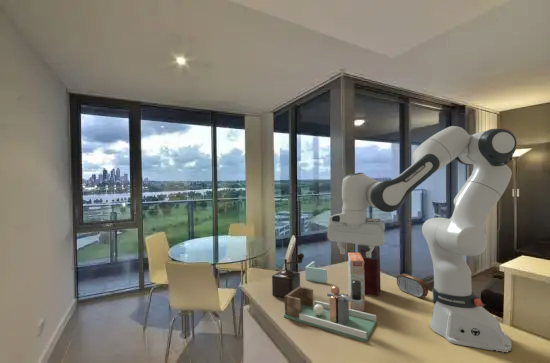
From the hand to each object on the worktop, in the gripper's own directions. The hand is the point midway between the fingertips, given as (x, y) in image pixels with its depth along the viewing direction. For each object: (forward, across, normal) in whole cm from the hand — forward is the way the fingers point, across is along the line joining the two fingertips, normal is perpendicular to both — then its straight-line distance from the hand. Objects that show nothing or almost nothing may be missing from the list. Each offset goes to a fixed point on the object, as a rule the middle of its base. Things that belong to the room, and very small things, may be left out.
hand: (355, 255), depth 98 cm
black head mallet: (+25, +4, 0) cm, 25 cm away
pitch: (+26, +11, 0) cm, 28 cm away
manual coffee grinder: (+27, +38, -16) cm, 49 cm away
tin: (+26, -13, -43) cm, 52 cm away
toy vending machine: (+26, +6, -36) cm, 45 cm away
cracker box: (+26, +6, -19) cm, 33 cm away
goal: (+25, +23, 0) cm, 35 cm away
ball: (+23, +15, 0) cm, 28 cm away
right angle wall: (+27, +33, -41) cm, 59 cm away
